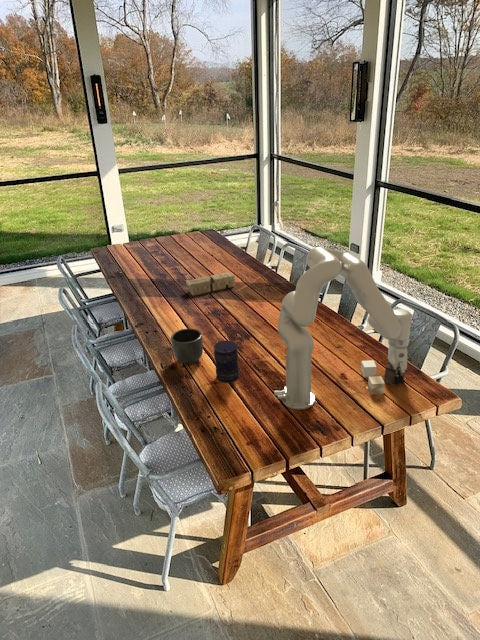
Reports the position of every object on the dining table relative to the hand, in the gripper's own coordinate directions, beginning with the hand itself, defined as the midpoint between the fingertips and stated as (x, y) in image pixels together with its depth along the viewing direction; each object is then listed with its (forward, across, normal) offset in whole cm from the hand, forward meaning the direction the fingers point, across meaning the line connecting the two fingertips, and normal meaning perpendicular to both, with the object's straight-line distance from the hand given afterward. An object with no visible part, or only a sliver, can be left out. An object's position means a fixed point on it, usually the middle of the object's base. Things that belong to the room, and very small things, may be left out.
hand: (394, 377), depth 187 cm
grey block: (+2, +6, +9) cm, 11 cm away
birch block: (+2, -6, +9) cm, 11 cm away
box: (+2, 0, 0) cm, 2 cm away
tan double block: (+2, +108, +81) cm, 134 cm away
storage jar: (+2, +9, +68) cm, 69 cm away
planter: (+2, +24, +86) cm, 89 cm away
